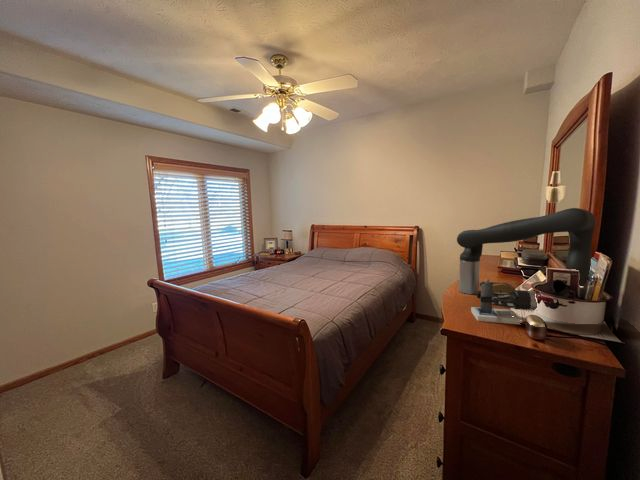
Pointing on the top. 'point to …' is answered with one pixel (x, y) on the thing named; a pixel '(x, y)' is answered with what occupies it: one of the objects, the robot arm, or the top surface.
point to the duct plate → (496, 316)
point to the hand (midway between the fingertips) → (479, 297)
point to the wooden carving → (503, 287)
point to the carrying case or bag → (489, 283)
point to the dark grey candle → (486, 292)
